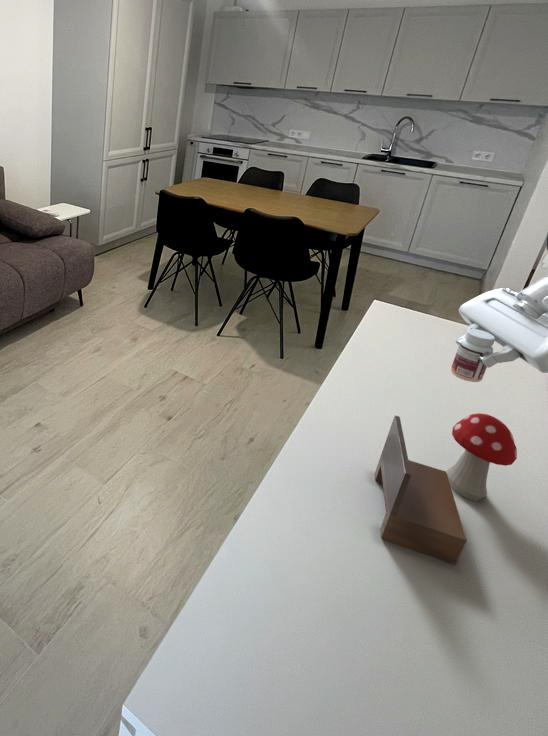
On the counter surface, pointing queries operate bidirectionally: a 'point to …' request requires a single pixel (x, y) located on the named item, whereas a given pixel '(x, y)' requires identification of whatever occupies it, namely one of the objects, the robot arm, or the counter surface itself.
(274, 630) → the counter surface
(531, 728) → the counter surface
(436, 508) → the wooden display stand
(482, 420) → the decorative mushroom
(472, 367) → the pill bottle
